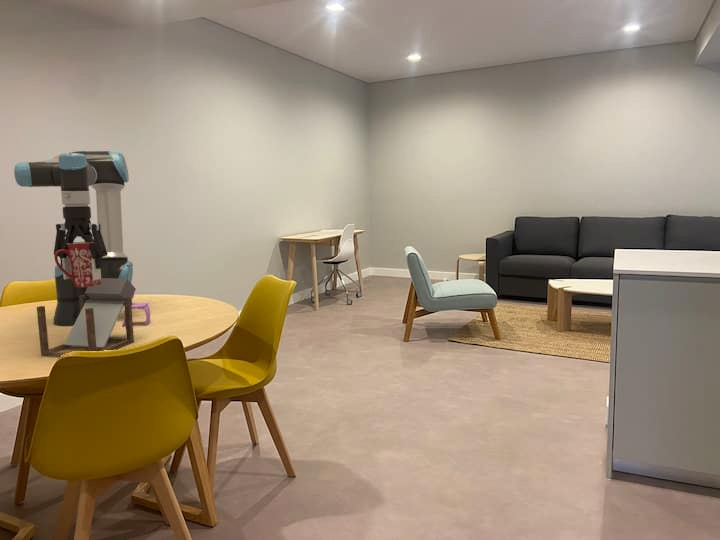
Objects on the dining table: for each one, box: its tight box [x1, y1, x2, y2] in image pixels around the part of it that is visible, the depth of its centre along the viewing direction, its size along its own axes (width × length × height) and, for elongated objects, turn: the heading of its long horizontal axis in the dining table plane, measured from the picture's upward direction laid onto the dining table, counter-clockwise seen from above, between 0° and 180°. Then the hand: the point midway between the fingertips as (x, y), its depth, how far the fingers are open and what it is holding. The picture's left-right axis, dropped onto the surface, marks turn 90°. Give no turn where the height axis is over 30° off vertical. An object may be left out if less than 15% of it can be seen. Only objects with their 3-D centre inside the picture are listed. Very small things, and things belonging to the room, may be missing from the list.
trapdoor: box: [63, 278, 137, 349], centre depth 174 cm, size 14×24×6 cm
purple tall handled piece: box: [121, 294, 151, 328], centre depth 201 cm, size 8×9×15 cm
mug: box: [54, 241, 101, 287], centre depth 166 cm, size 13×9×14 cm
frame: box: [36, 295, 135, 358], centre depth 169 cm, size 18×19×15 cm
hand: (82, 279), depth 166 cm, fingers closed on mug, 10 cm apart
